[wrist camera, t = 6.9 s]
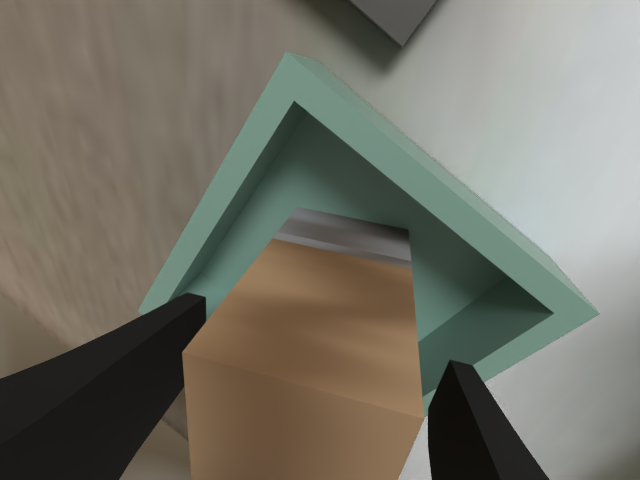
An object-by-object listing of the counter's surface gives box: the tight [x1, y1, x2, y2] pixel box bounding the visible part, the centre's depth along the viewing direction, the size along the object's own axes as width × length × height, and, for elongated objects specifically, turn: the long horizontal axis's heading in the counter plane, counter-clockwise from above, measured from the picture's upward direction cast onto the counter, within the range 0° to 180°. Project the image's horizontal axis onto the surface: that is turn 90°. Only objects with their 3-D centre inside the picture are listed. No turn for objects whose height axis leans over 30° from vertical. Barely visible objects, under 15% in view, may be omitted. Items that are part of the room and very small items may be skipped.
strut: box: [182, 207, 424, 480], centre depth 10 cm, size 4×4×8 cm
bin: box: [138, 52, 600, 418], centre depth 13 cm, size 11×11×4 cm
